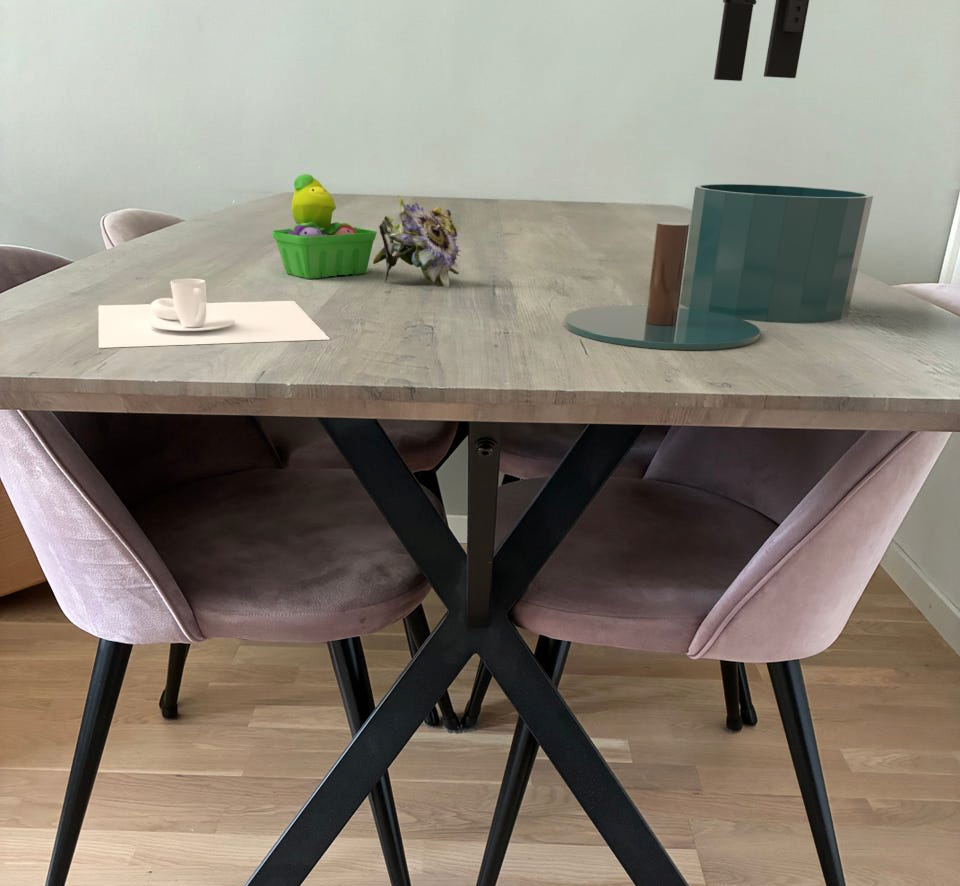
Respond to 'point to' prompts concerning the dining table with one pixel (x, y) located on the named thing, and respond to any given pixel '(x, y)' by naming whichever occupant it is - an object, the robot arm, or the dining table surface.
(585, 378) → the dining table surface
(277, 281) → the dining table surface
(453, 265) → the passion flower
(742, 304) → the pot
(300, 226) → the fruit basket
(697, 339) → the lid
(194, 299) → the teacup and saucer
